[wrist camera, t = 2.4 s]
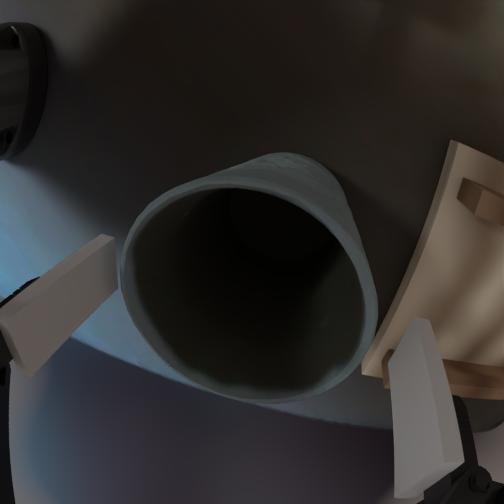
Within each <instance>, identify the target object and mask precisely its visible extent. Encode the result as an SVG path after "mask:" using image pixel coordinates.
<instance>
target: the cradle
mask: <svg viewBox="0 0 504 504" xmlns="http://www.w3.org/2000/svg"><path fill="white" fill-rule="evenodd" d="M414 316H415V317H419V318H424V319H428V320H430V323H431V326H432V329H433V332H434V335H435V338H436V341H437V345H438V348H439V351H440V354H441V358H442V361H443V365H444V368H445V372H446V376H447V379H448V383H449V387H450V391H451V395H457V396H460V397H463V398H477V399H495V400H504V163H502V162H500V161H498V160H496V159H494V158H492V157H490V156H488V155H486V154H484V153H482V152H479V151H477V150H475V149H473V148H471V147H468V146H466V145H464V144H461V143H459V142H456V141H453V140H451V139H450V143H449V147H448V151H447V154H446V158H445V162H444V165H443V169H442V172H441V176H440V179H439V182H438V185H437V189H436V192H435V195H434V198H433V201H432V204H431V207H430V210H429V213H428V216H427V219H426V221H425V224H424V227H423V230H422V232H421V235H420V238H419V240H418V243H417V246H416V248H415V251H414V253H413V256H412V258H411V261H410V263H409V265H408V268H407V270H406V273H405V275H404V277H403V279H402V282H401V284H400V286H399V289H398V291H397V293H396V295H395V297H394V299H393V302H392V304H391V306H390V308H389V310H388V312H387V314H386V316H385V318H384V320H383V322H382V324H381V326H380V328H379V330H378V332H377V334H376V336H375V338H374V340H373V342H372V344H371V346H370V348H369V350H368V352H367V354H366V355H365V357H364V359H363V360H362V362H361V364H362V374H363V375H368V376H374V377H379V378H383V384H384V388H387V389H390V380H389V370H388V362H389V360H390V358H391V357H392V355H393V353H394V352H395V350H396V348H397V347H398V345H399V343H400V341H401V340H402V338H403V336H404V334H405V332H406V331H407V329H408V327H409V325H410V323H411V321H412V319H413V317H414Z"/></svg>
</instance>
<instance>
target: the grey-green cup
mask: <svg viewBox="0 0 504 504" xmlns="http://www.w3.org/2000/svg"><path fill="white" fill-rule="evenodd" d="M120 279H121V290H122V293H123V297H124V300H125V304H126V307H127V310H128V312H129V314H130V316H131V318H132V321H133V323H134V325H135V326H136V327H137V329H138V330H139V332H140V333H141V335H142V336H143V338H144V339H145V341H146V342H147V343H148V345H149V346H150V348H151V349H152V350H153V351H154V352H155V353H156V354H157V355H158V356H159V357H160V358H161V359H162V360H163V361H164V362H165V363H166V364H167V365H168V366H169V367H170V368H172V369H173V370H174V371H176V372H177V373H178V374H180V375H181V376H183V377H184V378H186V379H187V380H189V381H190V382H192V383H194V384H196V385H197V386H199V387H201V388H203V389H206V390H208V391H211V392H213V393H215V394H218V395H221V396H224V397H227V398H231V399H235V400H239V401H245V402H252V403H260V404H280V403H287V402H294V401H300V400H304V399H307V398H310V397H313V396H315V395H318V394H321V393H324V392H326V391H327V390H329V389H331V388H333V387H335V386H336V385H338V384H339V383H340V382H342V381H343V380H344V379H346V378H347V377H348V376H349V375H350V374H351V373H352V372H353V371H354V370H355V369H356V367H357V366H358V365H359V364H360V363H361V362H362V360H363V358H364V357H365V355H366V354H367V352H368V350H369V348H370V346H371V343H372V341H373V338H374V335H375V330H376V325H377V320H378V299H377V294H376V289H375V285H374V282H373V278H372V274H371V270H370V267H369V263H368V260H367V257H366V254H365V251H364V249H363V245H362V242H361V238H360V235H359V232H358V229H357V227H356V224H355V222H354V220H353V215H352V213H351V210H350V208H349V206H348V204H347V200H346V197H345V194H344V192H343V190H342V188H341V186H340V184H339V182H338V181H337V179H336V178H335V177H334V176H333V174H332V173H331V172H330V171H329V170H328V169H327V168H326V167H324V166H323V165H322V164H320V163H319V162H317V161H315V160H313V159H311V158H309V157H307V156H304V155H300V154H296V153H289V152H278V153H271V154H267V155H264V156H261V157H258V158H255V159H252V160H250V161H248V162H245V163H242V164H240V165H236V166H234V167H231V168H228V169H226V170H222V171H219V172H216V173H213V174H211V175H208V176H205V177H202V178H199V179H196V180H193V181H190V182H187V183H184V184H182V185H179V186H177V187H175V188H173V189H171V190H169V191H167V192H165V193H164V194H162V195H161V196H159V197H158V198H156V199H155V200H154V201H152V202H151V203H150V204H149V205H148V206H147V207H146V208H145V209H144V210H143V212H142V213H141V214H140V215H139V216H138V217H137V219H136V220H135V222H134V224H133V226H132V228H131V229H130V231H129V234H128V236H127V239H126V241H125V243H124V246H123V250H122V256H121V262H120Z"/></svg>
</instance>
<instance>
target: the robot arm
mask: <svg viewBox="0 0 504 504" xmlns="http://www.w3.org/2000/svg"><path fill="white" fill-rule="evenodd" d="M46 84H47V60H46V53H45V48H44V44H43V41H42V38H41V36H40V34H39V33H38V31H37V30H36V29H35V28H34V27H33V26H32V25H30V24H28V23H22V22H6V23H2V24H0V161H1V160H4V159H7V158H10V157H12V156H15V155H17V154H18V153H20V152H21V151H22V150H23V149H24V148H25V147H26V146H27V144H28V143H29V142H30V140H31V138H32V136H33V134H34V133H35V130H36V128H37V125H38V123H39V120H40V116H41V113H42V109H43V105H44V99H45V93H46ZM117 289H118V280H117V267H116V252H115V237H111V236H108V235H104V234H101V235H99V236H98V237H96V238H95V239H93V240H92V241H90V242H89V243H87V244H86V245H84V246H83V247H81V248H80V249H79V250H77V251H76V252H74V253H73V254H71V255H70V256H69V257H67V258H66V259H64V260H63V261H62V262H60V263H59V264H57V265H56V266H55V267H53V268H52V269H51V270H49V271H48V272H46V273H45V274H44V275H42V276H41V277H37V278H34V279H32V280H30V281H28V282H26V283H25V284H24V285H22V286H21V287H20V288H19V290H18V289H17V290H16V291H15V292H13V294H12V295H9V296H8V297H7V298H6V299H4V300H3V301H2V302H1V303H0V504H15V498H14V491H13V483H12V475H11V464H10V449H9V389H10V374H11V368H10V364H9V362H10V361H11V360H12V359H13V360H14V362H15V364H16V366H17V368H18V370H20V371H21V372H23V373H24V374H25V375H27V376H28V377H29V378H31V377H32V376H33V375H34V374H35V373H36V372H37V370H38V369H39V368H40V367H41V366H42V365H43V364H44V363H45V362H46V361H47V360H48V359H49V357H50V356H51V355H52V354H53V353H54V352H55V351H56V350H57V349H58V348H59V347H60V346H61V345H62V344H63V343H64V341H66V340H67V339H68V338H69V337H70V335H71V334H72V333H73V332H74V331H75V330H76V329H77V328H78V327H79V326H80V325H81V324H82V323H83V322H84V321H85V320H86V319H87V318H88V317H89V316H90V315H91V314H92V313H93V312H94V311H95V310H96V309H97V308H98V307H99V306H100V305H101V304H102V303H103V302H104V301H105V300H106V299H107V298H108V297H110V296H111V295H112V294H113V293H114V292H115V291H116V290H117ZM388 370H389V380H390V390H391V401H392V415H393V432H394V460H395V493H394V497H395V498H414V497H416V496H418V495H419V494H421V493H422V492H424V500H422V501H420V502H419V503H417V504H504V484H502V483H498V482H495V481H492V478H491V476H490V473H489V472H488V471H487V470H486V469H485V468H483V467H481V466H479V465H478V461H477V455H476V449H475V445H474V439H473V435H472V430H470V429H471V425H470V421H468V419H469V417H468V413H467V408H466V406H465V404H464V403H463V401H462V399H461V398H460V396H457V395H451V391H450V387H449V383H448V379H447V376H446V372H445V368H444V365H443V361H442V358H441V354H440V351H439V348H438V345H437V341H436V338H435V335H434V332H433V329H432V326H431V323H430V320H428V319H424V318H419V317H415V316H414V317H413V319H412V321H411V323H410V325H409V327H408V329H407V331H406V332H405V334H404V336H403V338H402V340H401V341H400V343H399V345H398V347H397V348H396V350H395V352H394V353H393V355H392V357H391V358H390V360H389V362H388Z"/></svg>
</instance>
